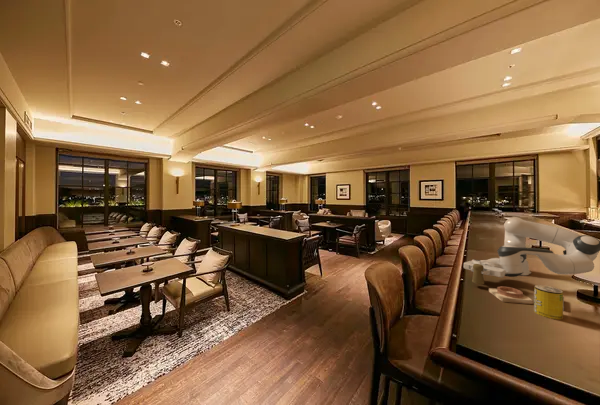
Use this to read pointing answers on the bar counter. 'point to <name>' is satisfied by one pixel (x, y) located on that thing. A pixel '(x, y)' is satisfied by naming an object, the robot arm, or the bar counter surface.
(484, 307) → the bar counter surface
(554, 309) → the yellow can
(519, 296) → the square base with ring
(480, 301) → the bar counter surface
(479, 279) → the cork
